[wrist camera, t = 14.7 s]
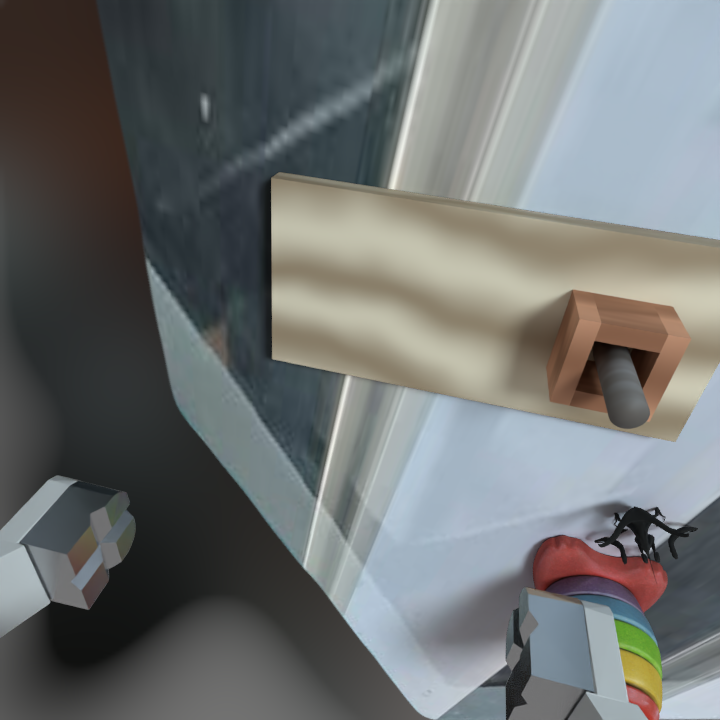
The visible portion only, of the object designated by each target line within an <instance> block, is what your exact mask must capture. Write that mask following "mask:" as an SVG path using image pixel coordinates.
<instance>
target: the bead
mask: <svg viewBox="0 0 720 720" xmlns="http://www.w3.org/2000/svg"><path fill="white" fill-rule="evenodd" d="M594 341H598V342H603V343H609V344H614V345H620V346H625V347H630V348H633V349H632V351H631V354H630V356H631V359H632V362H633V365H634V367H635V370H636V373H637V376H638V379H639V381H640V384H641V387H642V390H643V393H644V395H645V398H646V401H647V404H648V407H649V409H650V416H649V418H648V420H647V422H650V420H651V418H652V416H653V414H654V412H655V410H656V408H657V406H658V404H659V402H660V400H661V398H662V396H663V394H664V392H665V390H666V388H667V386H668V384H669V382H670V380H671V378H672V376H673V374H674V372H675V370H676V369H677V367H678V365H679V363H680V361H681V359H682V357H683V355H684V353H685V351H686V349H687V347H688V345H689V343H690V341H691V338H690V336H689V334H688V332H687V330H686V329H685V327H684V325H683V323H682V322H681V320H680V318H679V316H678V314H677V313H676V311H675V309H674V307H672V306H666V305H660V304H655V303H649V302H643V301H637V300H632V299H626V298H620V297H614V296H608V295H603V294H597V293H591V292H585V291H580V290H574V289H573V290H572V293H571V296H570V299H569V302H568V305H567V308H566V311H565V313H564V316H563V319H562V322H561V325H560V328H559V331H558V334H557V337H556V340H555V343H554V346H553V349H552V352H551V355H550V358H549V360H548V363H547V366H546V371H547V380H548V389H549V399H550V402H553V403H558V404H563V405H568V406H573V407H578V408H583V409H588V410H593V411H598V412H603V413H608V412H607V408H606V404H605V400H604V396H603V392H602V388H601V384H600V380H599V376H598V372H597V368H596V364H595V361H591V360H587V359H588V356H589V354H590V351H591V349H592V346H593V344H594Z"/></svg>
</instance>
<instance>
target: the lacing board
mask: <svg viewBox="0 0 720 720" xmlns="http://www.w3.org/2000/svg"><path fill="white" fill-rule="evenodd" d="M271 232H272V359H274V360H279V361H284V362H289V363H293V364H298V365H303V366H308V367H313V368H318V369H323V370H327V371H332V372H337V373H342V374H347V375H352V376H357V377H361V378H366V379H371V380H376V381H381V382H386V383H391V384H395V385H400V386H405V387H410V388H415V389H420V390H425V391H429V392H434V393H439V394H444V395H449V396H454V397H459V398H463V399H468V400H473V401H478V402H483V403H488V404H493V405H498V406H502V407H507V408H512V409H517V410H522V411H527V412H532V413H536V414H541V415H546V416H551V417H556V418H561V419H566V420H570V421H575V422H580V423H585V424H590V425H595V426H600V427H604V428H609V429H614V430H619V431H624V432H629V433H634V434H638V435H643V436H648V437H653V438H658V439H663V440H668V441H672V442H676V440H677V438H678V436H679V434H680V433H681V431H682V429H683V427H684V425H685V424H686V422H687V420H688V418H689V416H690V415H691V413H692V411H693V409H694V407H695V405H696V404H697V402H698V400H699V398H700V396H701V395H702V393H703V391H704V389H705V387H706V386H707V384H708V382H709V380H710V378H711V377H712V375H713V373H714V371H715V369H716V368H717V366H718V364H719V362H720V240H716V239H709V238H703V237H696V236H690V235H683V234H677V233H670V232H664V231H657V230H651V229H644V228H638V227H631V226H625V225H619V224H612V223H606V222H599V221H593V220H586V219H580V218H573V217H567V216H560V215H554V214H547V213H541V212H534V211H528V210H521V209H515V208H508V207H502V206H495V205H489V204H483V203H476V202H470V201H463V200H457V199H450V198H444V197H437V196H431V195H424V194H418V193H411V192H405V191H398V190H392V189H385V188H379V187H372V186H366V185H359V184H353V183H346V182H340V181H334V180H327V179H321V178H314V177H308V176H301V175H295V174H288V173H282V172H279V173H277V174H276V175H275V176H273V177H272V178H271ZM573 289H574V290H580V291H585V292H591V293H597V294H603V295H608V296H614V297H620V298H626V299H632V300H637V301H643V302H649V303H655V304H660V305H666V306H672V307H674V309H675V311H676V313H677V314H678V316H679V318H680V320H681V322H682V323H683V325H684V327H685V329H686V330H687V332H688V334H689V336H690V338H691V341H690V343H689V345H688V347H687V349H686V351H685V353H684V355H683V357H682V359H681V361H680V363H679V365H678V367H677V369H676V370H675V372H674V374H673V376H672V378H671V380H670V382H669V384H668V386H667V388H666V390H665V392H664V394H663V396H662V398H661V400H660V402H659V404H658V406H657V408H656V410H655V412H654V414H653V416H652V418H651V420H650V422H647V420H648V418H649V416H650V409H649V407H648V404H647V401H646V398H645V395H644V393H643V390H642V387H641V384H640V381H639V379H638V376H637V373H636V370H635V367H634V365H633V362H632V359H631V356H630V354H631V351H632V349H633V348H630V347H625V346H620V345H614V344H609V343H603V342H598V341H594V344H593V346H592V349H591V351H590V354H589V356H588V359H587V360H591V361H595V364H596V368H597V372H598V376H599V380H600V384H601V388H602V392H603V396H604V400H605V404H606V408H607V412H608V413H603V412H598V411H593V410H588V409H583V408H578V407H573V406H568V405H563V404H558V403H553V402H550V399H549V389H548V380H547V371H546V366H547V363H548V360H549V358H550V355H551V352H552V349H553V346H554V343H555V340H556V337H557V334H558V331H559V328H560V325H561V322H562V319H563V316H564V313H565V311H566V308H567V305H568V302H569V299H570V296H571V293H572V290H573Z"/></svg>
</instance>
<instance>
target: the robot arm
mask: <svg viewBox="0 0 720 720" xmlns="http://www.w3.org/2000/svg"><path fill="white" fill-rule="evenodd" d="M129 504H130V502H129V499H128V496H127V493H126V492H122V491H118V490H114V489H110V488H106V487H102V486H98V485H94V484H90V483H86V482H82V481H79V480H74V479H71V478H67V477H62V476H58V475H57V476H55V477H53V478H51V479H49V480H48V481H47V482H46V483H45V484H44V485H43V486H42V487H41V488H40V489H39V490H38V491H37V492H36V493H35V494H34V495H33V496H32V498H31V499H30V500H29V501H28V502H27V503H26V504H25V505H24V506H23V507H22V508H21V509H20V510H19V511H18V512H17V513H16V514H15V515H14V516H13V517H12V519H11V520H10V521H9V522H8V523H7V524H6V525H5V526H4V527H3V528H2V529H1V530H0V637H2V636H3V635H5V634H6V633H8V632H9V631H10V630H12V629H13V628H15V627H16V626H18V625H19V624H21V623H22V622H23V621H25V620H26V619H28V618H29V617H31V616H32V615H34V614H35V613H37V612H38V611H39V610H41V609H42V608H44V607H45V606H47V605H48V604H49V603H50V601H55V602H59V603H63V604H67V605H72V606H75V607H80V608H84V609H90V607H91V606H92V604H93V603H94V601H95V600H96V598H97V597H98V596H99V594H100V592H101V591H102V590H103V588H104V587H105V585H106V584H107V582H108V581H109V574H108V569H109V568H111V567H113V566H115V565H116V564H118V563H120V562H121V561H122V560H123V559H124V557H125V556H126V554H127V553H128V551H129V549H130V547H131V544H132V541H133V539H134V536H135V521H134V517H132V515H131V514H130V513H129V512H128V511H127V510H126V508H127V507H128V505H129ZM49 600H50V601H49ZM506 662H507V664H508V665H509V667H510V669H511V670H512V673H511V675H510V677H509V679H508V681H507V684H506V720H648V719H647V717H646V716H645V714H644V713H643V712H642V710H641V709H640V707H639V706H638V705H636V704H633V703H630V702H629V700H628V695H627V689H626V683H625V678H624V672H623V667H622V661H621V656H620V650H619V645H618V639H617V633H616V628H615V622H614V617H613V613H612V611H611V609H610V608H609V607H608V606H606V605H602V604H597V603H592V602H588V601H583V600H579V599H578V598H574V597H569V596H565V595H560V594H556V593H551V592H547V591H542V590H538V589H533V588H529V587H525V588H523V589H522V591H521V593H520V596H519V608H517V609H515V610H513V612H512V615H511V618H510V620H509V625H508V630H507V637H506Z"/></svg>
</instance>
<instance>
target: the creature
mask: <svg viewBox="0 0 720 720" xmlns="http://www.w3.org/2000/svg"><path fill="white" fill-rule="evenodd" d="M658 512H659V514H660V515H661V516H663V515H662V514H661V512H660V510H659V509H658V507H656V508H655V515H651V514H650V513H648V512H647V511H645V510H643V509H641V508H638V507H635V506H634V508H631V509H629V510H628V511H627V512H626V513H625V514H624V516H623V517H622V519H620V517H619V515H618V514H617V513H615V520H616V522H617V520H618V521H620V522H619V524H618V526H616V525H615V524H616V522H615V523H614V525H615V526H616V529H615V531H614V533H613V534H612V536H611V537H610V538H609V537H604V538H601V539H598V540H595V543H603V542H604V543H603V544H598V545H599V546H600V547H605V546H607V545H609V544H612V545H614V546H616V547H617V548H619V549H620V552H621V557H622V561H623V563H624V564H627V556H626V554H625V549H624V547H623V545H622V544H621V543H620V542H618V541H617V540H616V539H617V538H618V536H619V535H620V534H621V533H623V532H625V531H627V530H628V529H624V527H625V526H627V527H629V528H630V529H631V530H632V531H633V532H634V534H635V535H636V537H635V542H636V543H637V544H638V547H639V549H640V551H641V553H642V554H641V557H642V560H643V562H644V563H648V559H647V557H646V555H645V554H643V550H644V551H645V552H646V554H647V555H648V558H649V561H650V564H651V560H650V556H649V550H650V548H651V547H652V549H653V552H654V558H655V561H656V562H660V557H659V553H658V552H655V544H654V537H653V536H652V535H650V534H648V528H649V526H650V525H651V523H653V524H655V525H656V526H658V527H660V528H662V529H663V530H665V531H666V532H668V533H670V534H671V535H670V538H669V540H668V543H669V547H670V552H671V553H672V556H673V557H674V558H675V559H678V555H677V552H676V550H675V547H674V541H675V540H676V539H677V538H678V537H679V536H680V537H688V536H689V533H687V534H684V533H685V532H688V531H690V530H694V531H696V530H698V528H694V527H682V528H679V529H677V530H676V529H672V528H669V527H668V526H666V525H665V524H663V523H662V522H661V521H659V520H658V519H656V517H657V516H658ZM663 517H664V516H663ZM664 518H665V517H664ZM664 520H665V519H664ZM663 522H664V521H663ZM691 532H693V531H691ZM600 541H603V542H600ZM651 567H652V565H651ZM652 570H653V568H652ZM653 573H654V572H653ZM654 577H655V575H654ZM655 580H656V579H655ZM656 583H657V582H656Z"/></svg>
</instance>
